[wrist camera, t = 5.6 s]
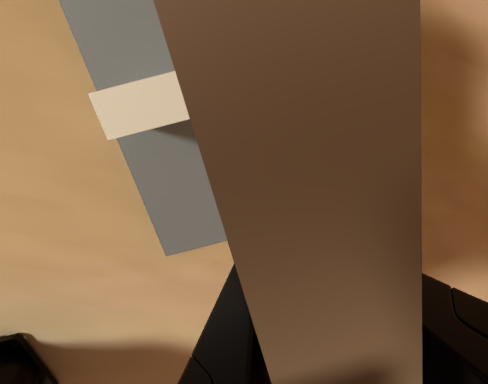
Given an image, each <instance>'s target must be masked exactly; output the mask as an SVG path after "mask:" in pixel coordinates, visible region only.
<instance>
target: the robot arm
mask: <svg viewBox="0 0 488 384" xmlns="http://www.w3.org/2000/svg"><path fill="white" fill-rule="evenodd" d="M422 382H423V384H488V302H485V301H483V300H481V299H478V298H476V297H474V296H472V295H469V294H467V293H465V292H463V291H460V290H458V289H456V288H452V289H451V287H450V286H449V285H447V284H445V283H443V282H440V281H438V280H436V279H434V278H432V277H429V276H427V275H425V274H423V273H422ZM0 384H58V382H57V381H56V380H55V379H54V377H53V376H52V375H51V373H50V372H49V371H48V369H47V368H46V367H45V366H44V364H43V363H42V362H41V360H40V359H39V358H38V356H37V355H36V354H35V353H34V351H33V350H32V349H31V347H30V346H29V345H28V343H27V342H26V341H25V340H24V338H23V337H22V336H20V335H11V336H7V337H3V338H0ZM178 384H272V383H271V380H270V376H269V373H268V370H267V367H266V364H265V360H264V357H263V354H262V351H261V347H260V344H259V341H258V338H257V334H256V331H255V328H254V325H253V321H252V318H251V315H250V312H249V309H248V305H247V302H246V299H245V296H244V292H243V289H242V286H241V283H240V279H239V276H238V273H237V270H236V266H235V263H234V265H233V267H232V269H231V271H230V274H229V276H228V278H227V280H226V282H225V284H224V286H223V289H222V291H221V293H220V295H219V297H218V299H217V301H216V304H215V306H214V308H213V310H212V312H211V314H210V316H209V318H208V321H207V323H206V325H205V327H204V329H203V331H202V333H201V336H200V338H199V340H198V342H197V344H196V346H195V348H194V351H193V353H192V357H190V359H189V361H188V363H187V365H186V367H185V369H184V372H183V374H182V376H181V378H180V380H179V382H178Z"/></svg>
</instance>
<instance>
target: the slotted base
mask: <svg viewBox="0 0 488 384" xmlns="http://www.w3.org/2000/svg"><path fill="white" fill-rule="evenodd" d="M59 2H60V5H61V7H62V10H63V12H64V14H65V17H66V19H67V21H68V24H69V26H70V29H71V31H72V33H73V36H74V38H75V41H76V43H77V45H78V48H79V50H80V52H81V55H82V57H83V60H84V62H85V64H86V67H87V69H88V71H89V74H90V76H91V79H92V81H93V83H94V86H95V88H96V92H92V93H89V94H88V95H89V98H90V100H91V102H92V105H93V107H94V109H95V112H96V114H97V116H98V118H99V121H100V123H101V125H102V128H103V130H104V132H105V135H106V137H107V139H108V140H111V139H115V138H117V141H118V143H119V145H120V148H121V150H122V152H123V155H124V157H125V160H126V162H127V164H128V167H129V169H130V171H131V174H132V176H133V179H134V181H135V183H136V186H137V188H138V191H139V193H140V195H141V198H142V200H143V202H144V205H145V207H146V210H147V212H148V214H149V217H150V219H151V221H152V224H153V226H154V229H155V231H156V233H157V236H158V238H159V241H160V243H161V245H162V248H163V250H164V252H165V255H166V256H169V255H173V254H177V253H181V252H185V251H188V250H192V249H196V248H200V247H204V246H207V245H211V244H215V243H219V242H223V241H226V240H227V237H226V234H225V231H224V228H223V224H222V221H221V218H220V215H219V211H218V208H217V205H216V202H215V198H214V195H213V192H212V189H211V186H210V182H209V179H208V176H207V173H206V169H205V166H204V163H203V160H202V156H201V153H200V150H199V147H198V143H197V140H196V137H195V134H194V131H193V127H192V124H191V121H190V118H189V114H188V111H187V108H186V105H185V101H184V98H183V95H182V92H181V88H180V85H179V82H178V79H177V76H176V72H175V69H174V66H173V63H172V59H171V56H170V53H169V50H168V46H167V43H166V40H165V37H164V33H163V30H162V27H161V24H160V21H159V17H158V14H157V11H156V8H155V4H154V1H153V0H59Z"/></svg>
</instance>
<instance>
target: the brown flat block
mask: <svg viewBox="0 0 488 384" xmlns="http://www.w3.org/2000/svg"><path fill="white" fill-rule="evenodd" d="M153 1H154V4H155V8H156V11H157V14H158V17H159V21H160V24H161V27H162V30H163V33H164V37H165V40H166V43H167V46H168V50H169V53H170V56H171V59H172V63H173V66H174V69H175V72H176V76H177V79H178V82H179V85H180V88H181V92H182V95H183V98H184V101H185V105H186V108H187V111H188V114H189V118H190V121H191V124H192V127H193V131H194V134H195V137H196V140H197V143H198V147H199V150H200V153H201V156H202V160H203V163H204V166H205V169H206V173H207V176H208V179H209V182H210V186H211V189H212V192H213V195H214V198H215V202H216V205H217V208H218V211H219V215H220V218H221V221H222V224H223V228H224V231H225V234H226V237H227V241H228V244H229V247H230V250H231V253H232V257H233V260H234V263H235V266H236V270H237V273H238V276H239V279H240V283H241V286H242V289H243V292H244V296H245V299H246V302H247V305H248V309H249V312H250V315H251V318H252V321H253V325H254V328H255V331H256V334H257V338H258V341H259V344H260V347H261V351H262V354H263V357H264V360H265V364H266V367H267V370H268V373H269V376H270V380H271V383H272V384H423V382H422V233H421V83H420V0H153Z"/></svg>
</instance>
